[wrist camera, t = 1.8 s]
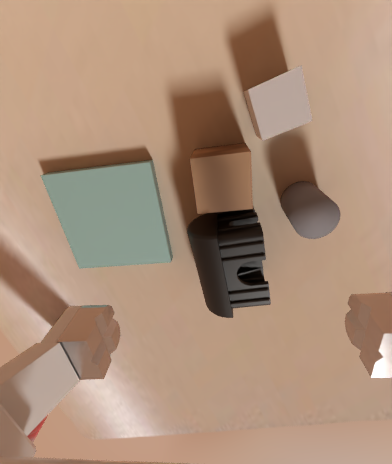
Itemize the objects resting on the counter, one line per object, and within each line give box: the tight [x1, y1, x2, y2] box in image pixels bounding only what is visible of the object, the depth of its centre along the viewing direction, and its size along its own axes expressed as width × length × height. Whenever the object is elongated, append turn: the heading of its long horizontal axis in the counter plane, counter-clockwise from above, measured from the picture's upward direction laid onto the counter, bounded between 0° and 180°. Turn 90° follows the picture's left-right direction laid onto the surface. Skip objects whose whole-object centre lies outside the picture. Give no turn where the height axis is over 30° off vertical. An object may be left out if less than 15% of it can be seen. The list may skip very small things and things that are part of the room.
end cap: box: [187, 208, 271, 318], centre depth 27 cm, size 10×7×7 cm
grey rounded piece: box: [281, 181, 340, 239], centre depth 24 cm, size 4×4×5 cm
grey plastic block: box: [244, 65, 312, 141], centre depth 21 cm, size 4×4×4 cm
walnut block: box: [190, 143, 253, 214], centre depth 24 cm, size 5×5×5 cm
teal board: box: [41, 160, 173, 268], centre depth 29 cm, size 12×12×1 cm
